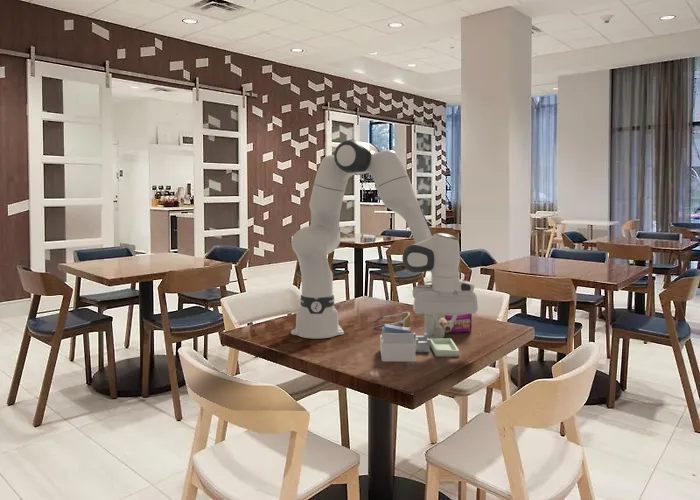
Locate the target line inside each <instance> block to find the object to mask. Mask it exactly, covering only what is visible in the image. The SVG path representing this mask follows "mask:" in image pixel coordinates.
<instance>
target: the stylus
mask: <svg viewBox="0 0 700 500" xmlns="http://www.w3.org/2000/svg"><path fill="white" fill-rule="evenodd" d="M439 321H441V322H442V328H443V329H444V331H445V332H450V331H451V326H450V325H449V323H448V322H447V321H446V319H445V318H440V319H439Z"/></svg>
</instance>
